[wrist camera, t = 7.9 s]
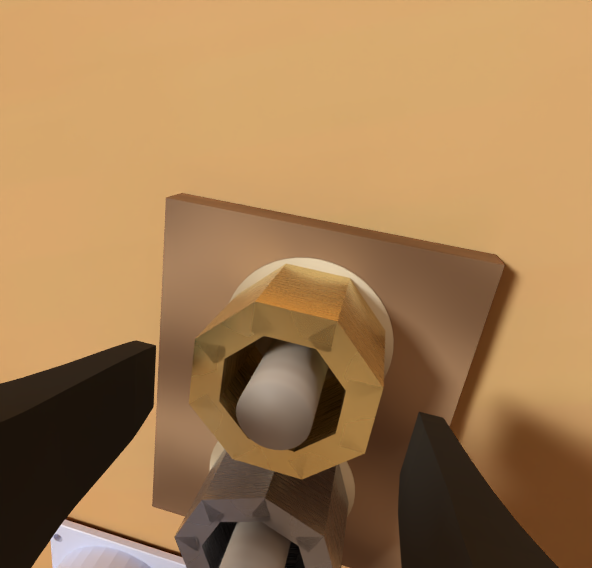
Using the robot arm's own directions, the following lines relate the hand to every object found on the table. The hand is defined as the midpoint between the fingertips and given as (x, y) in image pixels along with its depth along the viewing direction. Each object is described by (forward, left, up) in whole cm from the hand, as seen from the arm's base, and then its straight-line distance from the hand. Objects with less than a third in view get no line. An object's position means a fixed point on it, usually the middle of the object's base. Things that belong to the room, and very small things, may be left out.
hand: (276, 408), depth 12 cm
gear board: (-3, 0, -5) cm, 6 cm away
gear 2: (-6, 0, -4) cm, 8 cm away
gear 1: (0, 0, -4) cm, 4 cm away
